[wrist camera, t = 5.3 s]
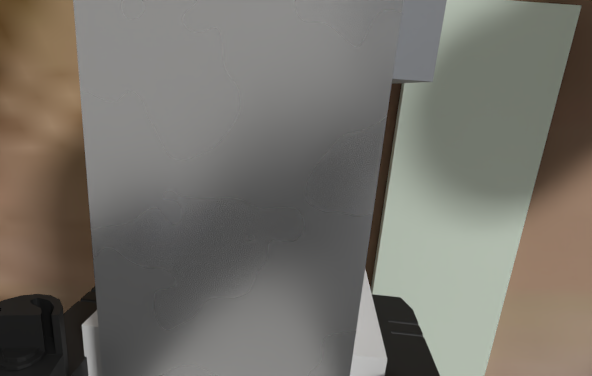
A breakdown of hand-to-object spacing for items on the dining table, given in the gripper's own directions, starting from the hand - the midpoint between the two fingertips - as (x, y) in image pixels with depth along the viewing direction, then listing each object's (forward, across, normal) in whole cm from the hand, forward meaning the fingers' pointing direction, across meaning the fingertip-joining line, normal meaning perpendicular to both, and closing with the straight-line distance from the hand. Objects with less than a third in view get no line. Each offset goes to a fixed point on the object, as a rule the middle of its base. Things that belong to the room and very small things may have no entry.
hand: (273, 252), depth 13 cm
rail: (-3, 0, 0) cm, 3 cm away
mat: (+7, +8, 0) cm, 11 cm away
